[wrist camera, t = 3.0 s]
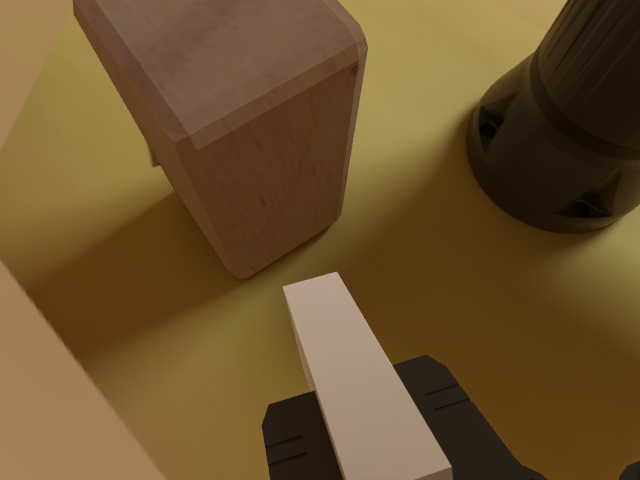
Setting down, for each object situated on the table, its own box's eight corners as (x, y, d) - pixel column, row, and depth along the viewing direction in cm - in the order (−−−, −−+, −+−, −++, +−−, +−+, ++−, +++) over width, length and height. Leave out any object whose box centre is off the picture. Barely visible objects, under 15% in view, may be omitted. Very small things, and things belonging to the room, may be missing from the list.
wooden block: (345, 219, 39) (380, 31, 20) (239, 288, 37) (167, 149, 18) (276, 131, 42) (251, -107, 23) (174, 190, 39) (53, -19, 21)
